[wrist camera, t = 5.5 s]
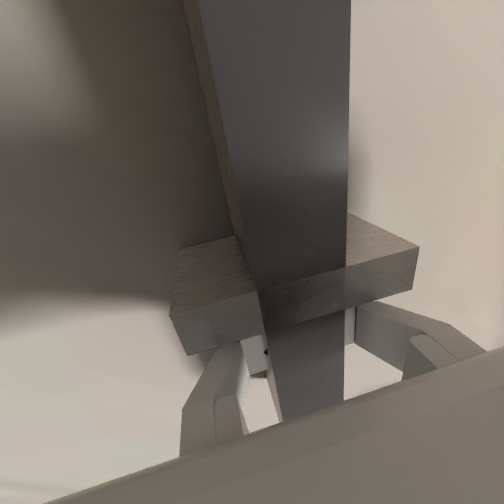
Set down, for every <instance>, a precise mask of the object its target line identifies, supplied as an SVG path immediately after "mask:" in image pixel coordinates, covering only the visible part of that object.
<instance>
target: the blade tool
mask: <svg viewBox="0 0 504 504" xmlns="http://www.w3.org/2000/svg"><path fill="white" fill-rule="evenodd" d="M182 4H183V8H184V12H185V17H186V21H187V26H188V30H189V35H190V39H191V44H192V48H193V52H194V57H195V61H196V66H197V70H198V75H199V79H200V84H201V88H202V92H203V97H204V101H205V106H206V110H207V115H208V119H209V124H210V128H211V132H212V137H213V141H214V146H215V150H216V155H217V159H218V163H219V168H220V172H221V177H222V181H223V186H224V190H225V195H226V199H227V203H228V208H229V212H230V217H231V221H232V226H233V230H234V235H235V236H230V237H226V238H222V239H218V240H214V241H210V242H206V243H202V244H198V245H194V246H189V247H185V248H181V249H180V252H179V258H178V264H177V270H176V277H175V283H174V289H173V295H172V302H171V308H170V314H169V316H170V318H171V320H172V322H173V325H174V327H175V329H176V331H177V334H178V336H179V338H180V340H181V343H182V345H183V347H184V349H185V352H186V354H187V356H188V355H192V354H195V353H198V352H202V351H205V350H209V349H212V348H215V347H219V346H222V345H225V344H229V343H232V342H236V341H239V340H242V339H246V338H249V337H253V336H256V335H259V334H263V335H264V340H265V345H266V352H267V355H268V359H269V364H270V369H267V370H265V372H266V377H267V381H268V384H269V388H270V391H271V394H272V398H273V401H274V405H275V408H276V411H277V415H278V418H279V422H280V423H281V422H284V421H287V420H289V419H292V418H295V417H298V416H301V415H304V414H307V413H310V412H313V411H316V410H319V409H322V408H325V407H327V406H330V405H333V404H336V403H339V402H342V401H343V395H344V342H345V309H347V308H351V307H354V306H357V305H361V304H364V303H367V302H371V301H374V300H378V299H381V298H384V297H388V296H391V295H394V294H398V293H401V292H405V291H408V290H411V289H412V286H413V280H414V275H415V269H416V264H417V258H418V253H419V246H417V245H415V244H413V243H411V242H409V241H407V240H405V239H403V238H401V237H398V236H396V235H394V234H392V233H390V232H388V231H386V230H384V229H382V228H379V227H377V226H375V225H373V224H371V223H369V222H367V221H365V220H363V219H361V218H358V217H356V216H354V215H352V214H350V213H348V212H347V180H348V127H349V73H350V19H351V0H182Z"/></svg>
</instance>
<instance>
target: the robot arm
mask: <svg viewBox="0 0 504 504" xmlns="http://www.w3.org/2000/svg"><path fill="white" fill-rule="evenodd" d="M352 343H355V344H356V345H358V346H360V347H362V348H363V349H365V350H367V351H368V352H370V353H372V354H373V355H375V356H377V357H379V358H380V359H382V360H384V361H385V362H387V363H389V364H390V365H392V366H394V367H396V368H397V369H399V370H401V371H402V372H403V375H402V380H401V381H400V382H398V383H395V384H392V385H389V386H386V387H383V388H380V389H377V390H374V391H371V392H368V393H365V394H362V395H360V396H357V397H354V398H351V399H348V400H345V401H342V402H339V403H336V404H333V405H330V406H327V407H325V408H322V409H319V410H316V411H313V412H310V413H307V414H304V415H301V416H298V417H295V418H292V419H289V420H287V421H284V422H281V423H278V424H275V425H272V426H269V427H266V428H263V429H260V430H257V431H254V432H251V433H249V431H248V428H247V425H246V422H245V419H244V416H243V413H242V410H241V405H242V402H243V398H244V395H245V392H246V389H247V385H248V382H249V379H250V375H253V374H256V373H258V372H261V371H264V370H267V369H270V364H269V359H268V355H267V352H266V345H265V340H264V335H263V334H259V335H256V336H253V337H249V338H246V339H242V340H239V341H236V342H232V343H229V344H225V345H222V346H221V347H219V348H217V349H216V351H215V352H214V354H213V356H212V358H211V359H210V361H209V363H208V365H207V366H206V368H205V370H204V372H203V373H202V375H201V377H200V379H199V380H198V382H197V384H196V386H195V387H194V389H193V391H192V393H191V394H190V396H189V398H188V400H187V401H186V403H185V405H184V407H183V408H182V422H181V438H180V455H179V457H178V458H175V459H172V460H170V461H167V462H164V463H161V464H158V465H155V466H152V467H149V468H146V469H143V470H140V471H137V472H134V473H131V474H129V475H126V476H123V477H120V478H117V479H114V480H111V481H108V482H105V483H102V484H99V485H96V486H93V487H90V488H88V489H85V490H82V491H79V492H76V493H73V494H70V495H67V496H64V497H61V498H58V499H55V500H52V501H49V502H47V503H44V504H504V346H503V347H500V348H497V349H494V350H491V351H488V352H487V351H486V350H484V349H483V348H481V347H480V346H479V345H477V344H476V343H475V342H473V341H472V340H470V339H469V338H468V337H466V336H465V335H464V334H462V333H461V332H459V331H458V330H457V329H455V328H454V327H453V326H451V325H450V324H448V323H444V322H441V321H438V320H435V319H432V318H429V317H426V316H422V315H419V314H416V313H413V312H410V311H407V310H404V309H400V308H397V307H394V306H391V305H388V304H385V303H382V302H379V301H375V302H373V301H371V302H367V303H364V304H361V305H357V306H354V307H351V308H347V309H345V342H344V346H345V345H348V344H352Z"/></svg>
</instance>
